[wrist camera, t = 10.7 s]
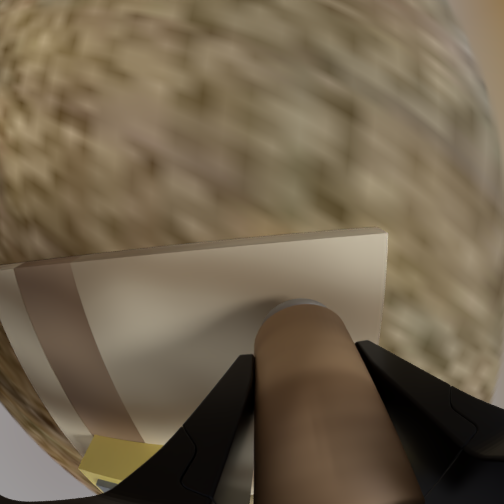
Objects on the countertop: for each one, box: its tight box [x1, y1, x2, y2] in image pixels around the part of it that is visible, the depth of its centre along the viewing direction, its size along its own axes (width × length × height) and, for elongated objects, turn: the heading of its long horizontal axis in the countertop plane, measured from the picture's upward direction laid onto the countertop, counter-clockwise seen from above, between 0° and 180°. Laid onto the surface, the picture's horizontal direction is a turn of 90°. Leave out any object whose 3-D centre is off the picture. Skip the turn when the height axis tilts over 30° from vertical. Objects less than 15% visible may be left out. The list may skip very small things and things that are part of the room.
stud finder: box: [78, 435, 164, 493], centre depth 12 cm, size 6×5×4 cm
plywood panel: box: [0, 227, 388, 495], centre depth 13 cm, size 18×19×1 cm
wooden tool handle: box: [254, 298, 425, 504], centre depth 6 cm, size 3×3×7 cm
